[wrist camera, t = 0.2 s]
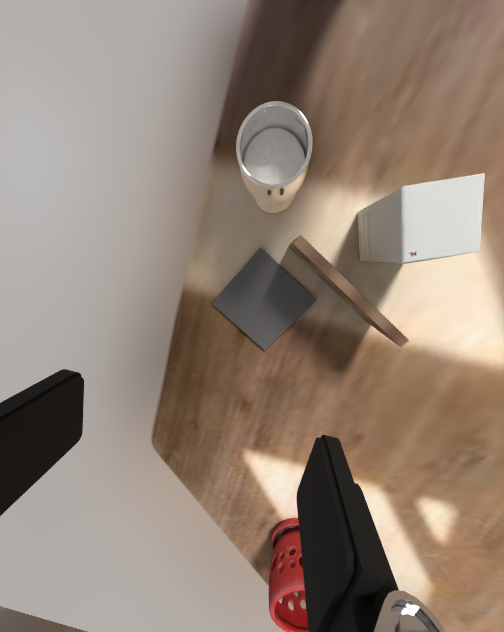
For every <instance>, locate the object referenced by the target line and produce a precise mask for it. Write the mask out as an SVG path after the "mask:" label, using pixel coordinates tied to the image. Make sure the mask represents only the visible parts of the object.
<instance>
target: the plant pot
mask: <svg viewBox="0 0 504 632" xmlns="http://www.w3.org/2000/svg"><path fill="white" fill-rule="evenodd" d="M271 545H272V548H273V550H274V552H273V555H272V560H271V567H270V575H269V611H270V615H271V618H272V620H273V621H274V622H275V624H276V625H278V626H279V627H280V628H281V629H283V630H284V631H287V632H309V631H308V622H307V610H306V609H302V608H301V606H300V601H301V600H305V601H306V599H305V588H304V577H303V565H302V554H301V543H300V532H299V520H298V519H291V520H287V521H285V522H283V523H281V524H280V525H279V526H277V528H276V529H275V530H274V532H273V534H272V538H271ZM296 591H298V597H296V596H295V595H294V592H296ZM282 597H283V600H282V604H280V603H279V599H280V598H282ZM289 601H291V602H292V603H293V605H294V610H293V611H292V610H290V609H289V607H288V602H289Z"/></svg>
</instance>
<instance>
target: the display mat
mask: <svg viewBox="0 0 504 632" xmlns="http://www.w3.org/2000/svg"><path fill="white" fill-rule="evenodd" d="M315 301H316V299H315V298H314V297H312V296H311V295H310V294H309V293H308V292H307V291H306V290H305V289H304V288H303V287H302V286H301V285H300V284H299V283H298V282H297V281H295V280H294V279H293V278H292V277H291V276H290V275H289V274H288V273H287V272H286V271H285V270H284V269H283V268H282V267H281V266H280V265H279V264H277V263H276V262H275V261H274V260H273V259H272V258H271V257H270V256H269V255H268V254H267V253H266V252H265V251H264V250H263V249H262V248H260V249H259V250H258V251H257V253H256V254H255V255H254V256H253V257H252V258H251V259H250V261H249V262H248V263H247V264H246V265H245V266H244V267H243V269H242V270H241V271H240V272H239V273H238V274H237V276H236V277H235V278H234V279H233V280H232V281H231V282H230V284H229V285H228V286H227V287H226V288H225V289H224V290H223V292H222V293H221V294H220V295H219V296H218V297H217V299H216V300H215V301H214V302H213V303H212V304H213V305H214V306H215V307H216V308H217V309H218V310H220V311H221V312H222V313H223V314H224V315H225V316H226V317H227V318H229V319H230V320H231V321H232V322H233V323H234V324H235V325H237V326H238V327H239V328H240V329H241V330H242V331H243V332H244V333H246V334H247V335H248V336H249V337H250V338H251V339H252V340H253V341H255V342H256V343H257V344H258V345H259V346H260V347H261V348H263V349H264V350H266V349H267V348H268V347H269V346H270V345H271V344H272V343H273V342H274V341H275V340H276V339H277V338H278V337H279V336H280V335H281V334H282V333H283V332H284V331H286V330H287V329H288V328H289V327H290V326H291V325H292V324H293V323H294V322H295V321H296V320H297V319H298V318H299V317H300V316H301V315H302V314H303V313H304V312H305V311H306V310H307V309H308V308H309V307H310V306H311V305H312V304H313V303H314V302H315Z"/></svg>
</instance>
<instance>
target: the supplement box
mask: <svg viewBox="0 0 504 632" xmlns="http://www.w3.org/2000/svg"><path fill="white" fill-rule="evenodd" d="M484 178H485V174H484V173H482V174H477V175H471V176H465V177H459V178H452V179H446V180H439V181H433V182H426V183H420V184H414V185H408V186H403V187H401V188H400V189H398V190H397V191H395V192H393V193H391V194H390V195H388V196H386V197H384V198H382V199H380V200H378V201H377V202H375V203H373V204H371V205H369V206H367V207H366V208H364V209H362V210H361V211H359V212H358V235H359V255H360V261H366V262H381V263H396V264H406V263H412V262H419V261H425V260H431V259H437V258H443V257H450V256H455V255H461V254H468V253H474V252H479V251H480V236H481V220H482V205H483V191H484Z"/></svg>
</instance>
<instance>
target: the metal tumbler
mask: <svg viewBox="0 0 504 632" xmlns="http://www.w3.org/2000/svg"><path fill="white" fill-rule="evenodd" d="M312 145H313V140H312V132H311V128H310V125H309V123H308V121H307V119H306V117H305V116H304V115H303V113H302V112H301V111H300V110H299V109H297V108H296V107H295V106H293V105H291V104H289V103H286V102H282V101H271V102H267V103H264V104H262V105H260V106H258V107H256V108H255V109H254V110H253V111H251V112H250V113H249V114H248V116H247V117H246V118H245V120H244V121H243V123H242V125H241V127H240V129H239V132H238V136H237V142H236V153H237V159H238V162H239V167H240V172H241V175H242V178H243V181H244V183H245V185H246V187H247V188H248V190H249V191H250V193H251V194H252V195H253V196H254V198H255V201H256V203H257V205H258V206H259V207H260V208H261V209H262V210H264V211H265V212H268V213H279V212H282V211H284V210H285V209H286V208H288V207H289V205H290V204H291V203H292V201H293V199H294V196H295V193H296V192H297V191H298V190H299V188H300V187H301V185H302V183H303V181H304V179H305V177H306V174H307V171H308V167H309V162H310V157H311V153H312Z"/></svg>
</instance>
